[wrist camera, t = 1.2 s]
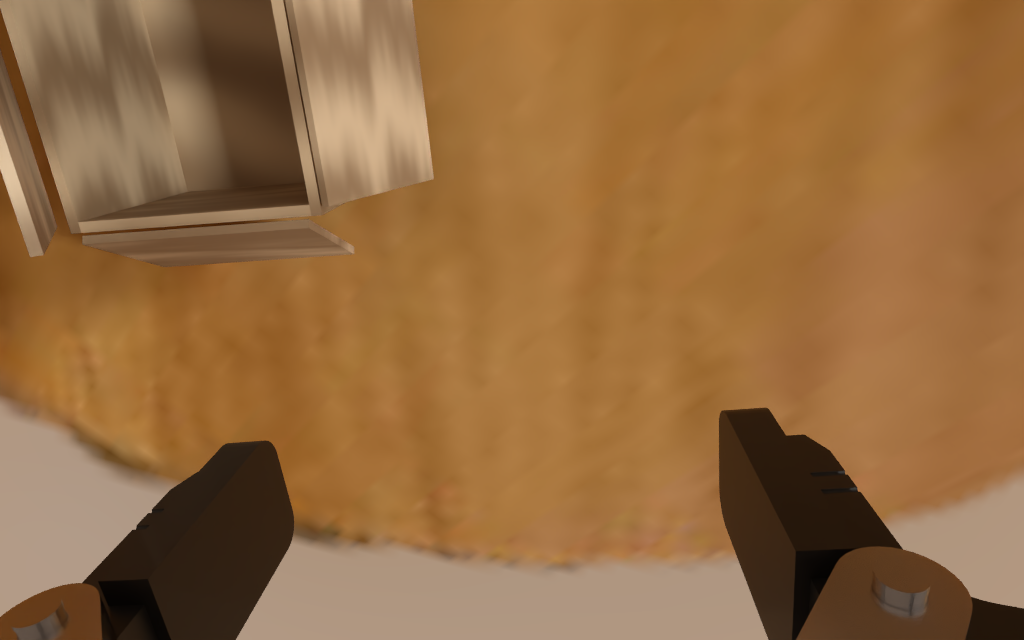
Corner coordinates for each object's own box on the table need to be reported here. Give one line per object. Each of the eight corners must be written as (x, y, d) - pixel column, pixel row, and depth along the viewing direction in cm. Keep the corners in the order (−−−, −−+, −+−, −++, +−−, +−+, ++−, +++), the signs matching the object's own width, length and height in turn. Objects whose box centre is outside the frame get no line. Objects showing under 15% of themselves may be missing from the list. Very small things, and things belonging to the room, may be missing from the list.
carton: (105, -128, 34) (-77, -216, 24) (403, -166, 32) (338, -275, 23) (199, 247, 40) (86, 297, 31) (449, 229, 39) (414, 276, 29)
